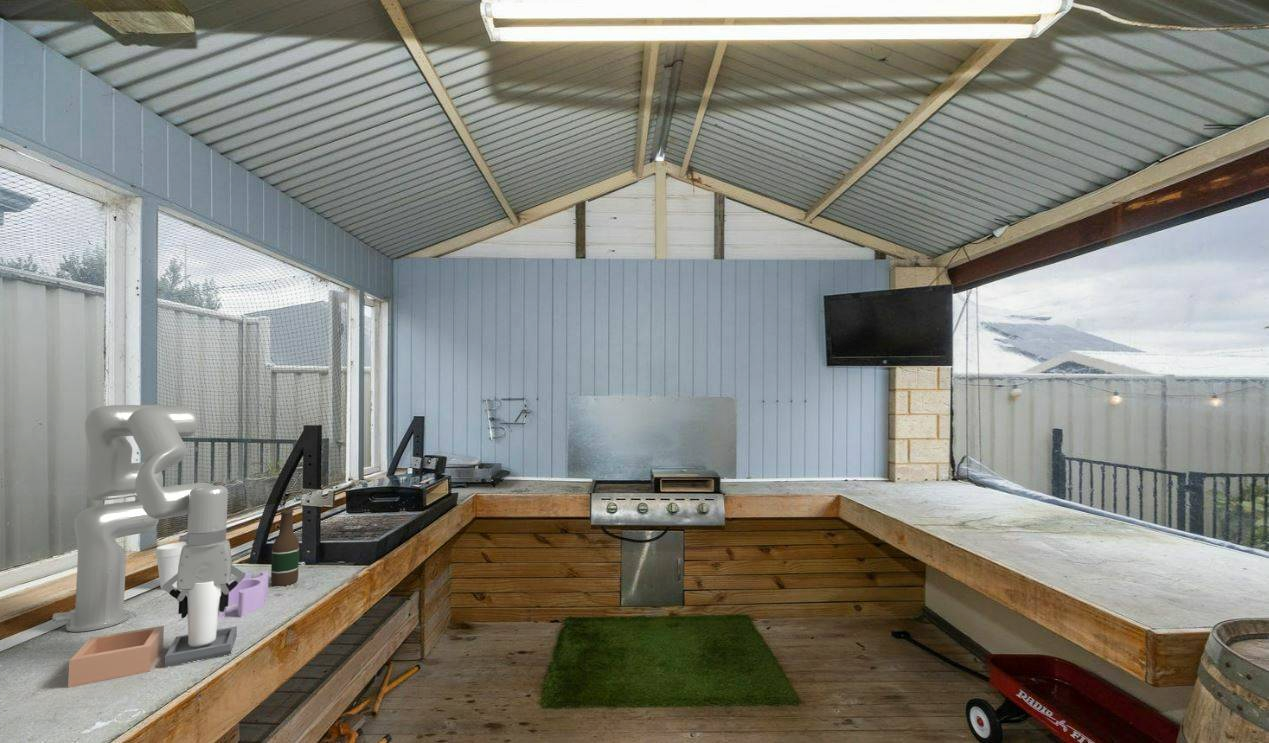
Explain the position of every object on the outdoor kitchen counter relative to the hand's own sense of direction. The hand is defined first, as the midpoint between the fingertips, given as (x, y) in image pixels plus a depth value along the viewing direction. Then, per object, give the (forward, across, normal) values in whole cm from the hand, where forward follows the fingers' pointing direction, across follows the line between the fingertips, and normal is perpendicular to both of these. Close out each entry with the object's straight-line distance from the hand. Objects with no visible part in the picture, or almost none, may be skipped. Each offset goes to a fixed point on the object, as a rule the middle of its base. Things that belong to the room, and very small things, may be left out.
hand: (203, 612), depth 132 cm
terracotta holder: (+9, -15, 0) cm, 17 cm away
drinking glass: (+7, 0, 0) cm, 7 cm away
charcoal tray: (+9, 0, 0) cm, 9 cm away
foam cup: (+10, -16, +64) cm, 66 cm away
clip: (+10, +5, +31) cm, 33 cm away
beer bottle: (+9, +15, +48) cm, 51 cm away
